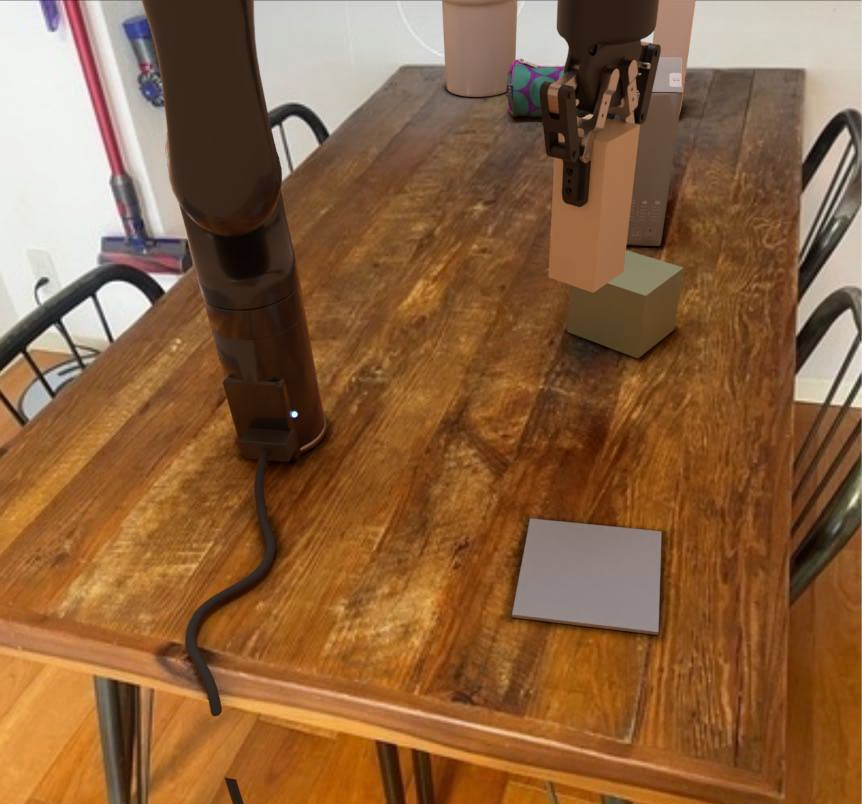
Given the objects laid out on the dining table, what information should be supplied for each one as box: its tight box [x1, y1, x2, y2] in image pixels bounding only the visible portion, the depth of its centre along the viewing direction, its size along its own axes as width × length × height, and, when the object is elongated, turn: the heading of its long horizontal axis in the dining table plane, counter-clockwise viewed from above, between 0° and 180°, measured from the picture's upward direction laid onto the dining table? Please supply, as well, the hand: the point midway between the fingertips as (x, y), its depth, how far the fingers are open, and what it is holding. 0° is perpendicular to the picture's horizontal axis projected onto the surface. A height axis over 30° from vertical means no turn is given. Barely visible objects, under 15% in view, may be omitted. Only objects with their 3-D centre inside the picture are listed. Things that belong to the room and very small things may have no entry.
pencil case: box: [505, 57, 593, 118], centre depth 155 cm, size 21×9×10 cm, turn 85°
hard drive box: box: [626, 57, 684, 247], centre depth 117 cm, size 16×8×20 cm, turn 168°
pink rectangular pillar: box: [651, 0, 696, 116], centre depth 148 cm, size 6×6×22 cm
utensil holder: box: [441, 0, 518, 98], centre depth 166 cm, size 15×15×18 cm
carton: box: [548, 114, 640, 293], centre depth 75 cm, size 13×5×5 cm
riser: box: [566, 249, 685, 359], centre depth 101 cm, size 10×8×8 cm
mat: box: [511, 517, 663, 636], centre depth 75 cm, size 12×12×1 cm
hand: (593, 191), depth 74 cm, fingers closed on carton, 5 cm apart
